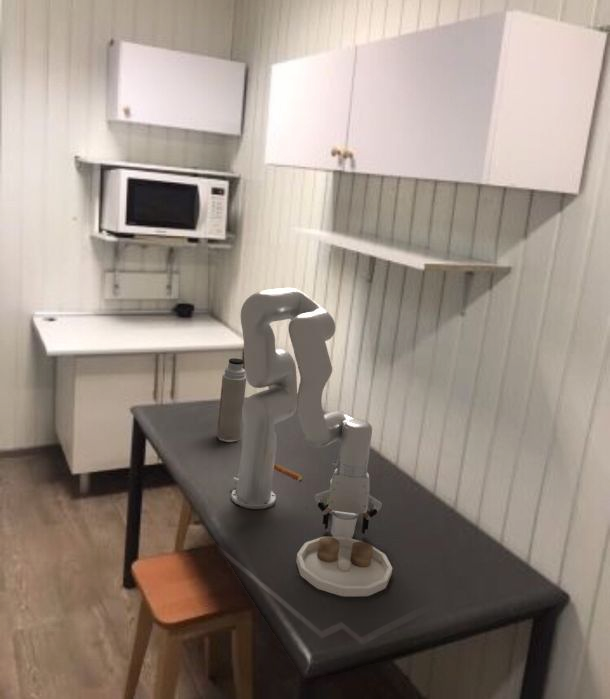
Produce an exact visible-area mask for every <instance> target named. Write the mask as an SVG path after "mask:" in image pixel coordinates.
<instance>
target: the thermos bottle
mask: <svg viewBox="0 0 610 699" xmlns="http://www.w3.org/2000/svg"><path fill="white" fill-rule="evenodd" d="M244 364H245V360H243V359H241V358H238V357H237V358H235V357H233V358H229V359H228V365H227V367H225V370H224V373H223V374H222V379H221V389H220V401H219V411H218V421H217V422H218V423H217V431H216V432H217V433H216V437H217V436H218V437H219V438H221V439H224V440H238V439H239V438H240V439H241V437H242V436H241V434H242V428H243V421H242V407H243V404H244V402H245V397H246V396H245V395H246V387H247V386H246V384H247V379H246V374H245V368H244Z"/></svg>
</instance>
